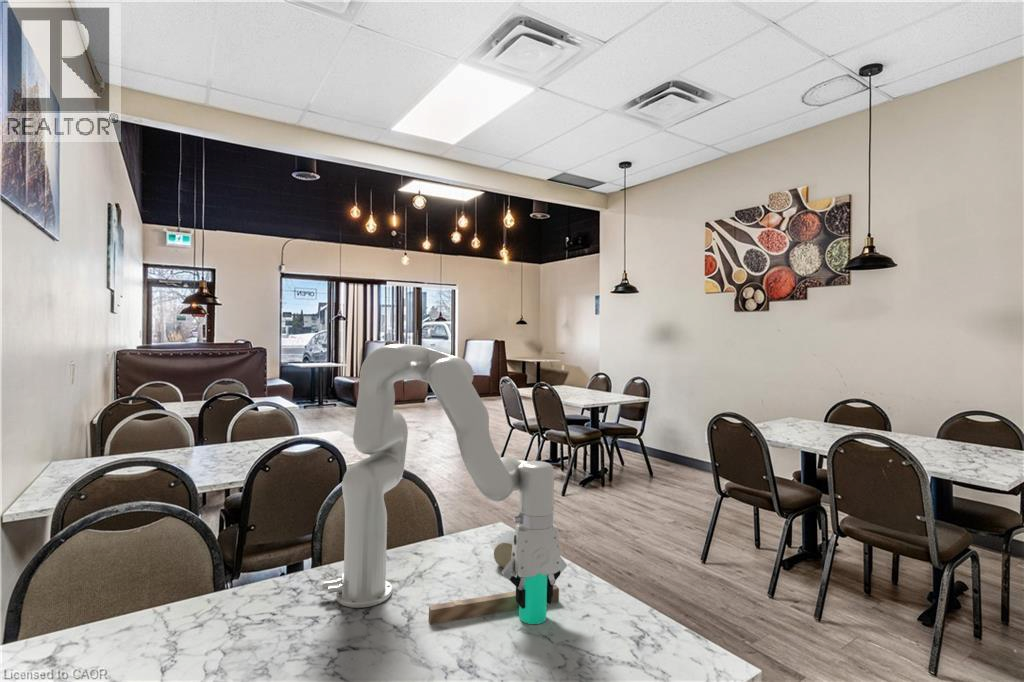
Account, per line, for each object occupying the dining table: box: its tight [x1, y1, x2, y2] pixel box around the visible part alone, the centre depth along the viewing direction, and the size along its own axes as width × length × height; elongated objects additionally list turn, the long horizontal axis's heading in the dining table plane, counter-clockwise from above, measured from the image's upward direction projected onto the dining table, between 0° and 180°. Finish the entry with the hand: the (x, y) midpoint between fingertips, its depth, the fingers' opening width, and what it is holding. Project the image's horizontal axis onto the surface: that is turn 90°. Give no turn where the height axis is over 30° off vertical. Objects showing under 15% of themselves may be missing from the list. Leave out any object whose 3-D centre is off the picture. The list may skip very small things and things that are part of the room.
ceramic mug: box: [493, 530, 515, 569], centre depth 135 cm, size 11×8×8 cm
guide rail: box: [428, 584, 560, 625], centre depth 111 cm, size 30×2×3 cm, turn 111°
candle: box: [518, 573, 548, 625], centre depth 108 cm, size 6×6×12 cm
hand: (534, 602), depth 108 cm, fingers closed on candle, 5 cm apart
